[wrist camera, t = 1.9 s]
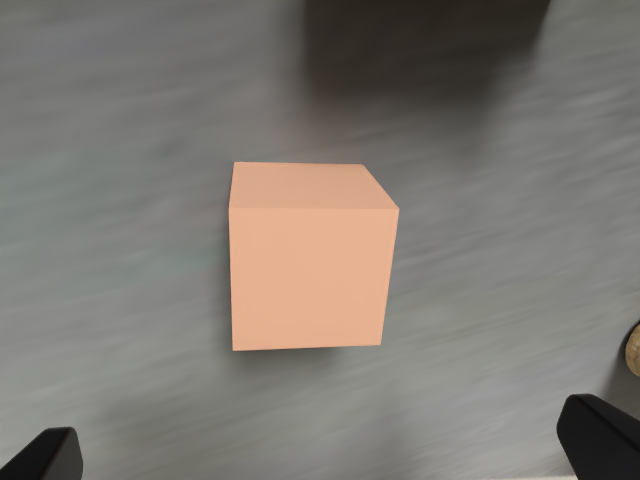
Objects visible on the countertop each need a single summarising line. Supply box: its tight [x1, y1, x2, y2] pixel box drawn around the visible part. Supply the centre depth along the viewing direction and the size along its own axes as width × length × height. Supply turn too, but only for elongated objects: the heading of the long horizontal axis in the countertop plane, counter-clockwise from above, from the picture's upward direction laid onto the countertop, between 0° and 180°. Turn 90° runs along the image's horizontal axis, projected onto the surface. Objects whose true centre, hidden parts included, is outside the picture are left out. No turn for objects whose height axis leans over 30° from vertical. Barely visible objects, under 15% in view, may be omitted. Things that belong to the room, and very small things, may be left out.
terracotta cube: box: [229, 162, 399, 351], centre depth 15 cm, size 4×4×4 cm
